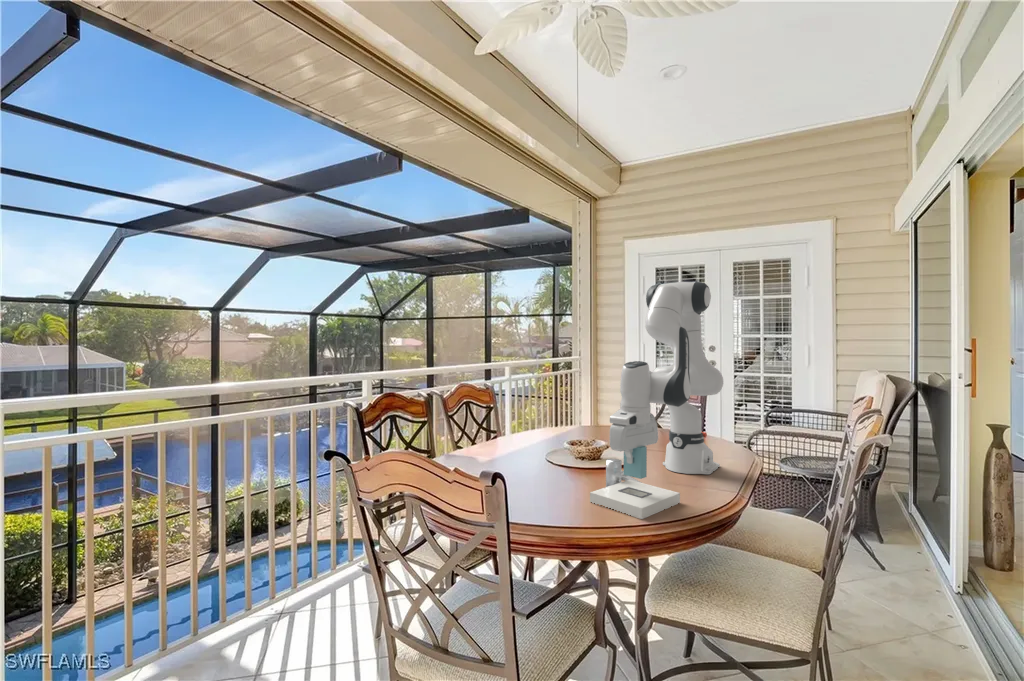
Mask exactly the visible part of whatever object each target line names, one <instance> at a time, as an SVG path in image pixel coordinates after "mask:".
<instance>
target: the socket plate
mask: <svg viewBox="0 0 1024 681" xmlns="http://www.w3.org/2000/svg"><path fill="white" fill-rule="evenodd" d="M640 482H641V481H640ZM640 482H636V481H633V480H627V481H624V480H623V481H622V482H620V483H617V484H614V485H611V486H608V487H606V486H605V487H602V488H600V489H596V490H594V491H590V492H589V503H591V502H592V503H591V504H594V503H595V504H594V505H597V504H599V505H598V506H600V505H603V506H605V507H604V508H606V507H608V508H607V509H609V508H611V509H610V510H612V509H614V510H613V511H615V510H617V511H616V512H618V511H620V512H619V513H621V512H622V513H621V514H624V513H626V514H625V515H627V514H628V516H630V515H631V516H630V517H633V518H637V519H639V520H643V519H646V518H648V517H651V516H653V515H655V514H657V513H659V512H662V511H664V509H665V510H667V509H669V508H671V506H672V507H674V506H676V505H678V503H679V504H680V503H681V493H680V492H678V491H673V490H670V489H666V488H663V487H659V486H655V485H651V484H647V483H645V482H642V483H640ZM603 506H602V507H603Z"/></svg>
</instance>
